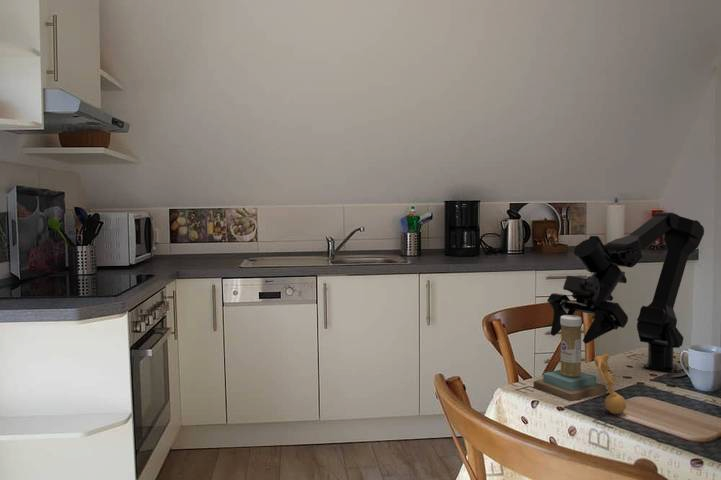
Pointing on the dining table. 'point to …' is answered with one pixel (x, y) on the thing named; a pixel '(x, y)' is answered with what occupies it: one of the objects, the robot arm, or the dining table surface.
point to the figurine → (614, 400)
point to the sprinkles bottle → (570, 345)
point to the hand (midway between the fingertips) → (567, 338)
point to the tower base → (570, 393)
